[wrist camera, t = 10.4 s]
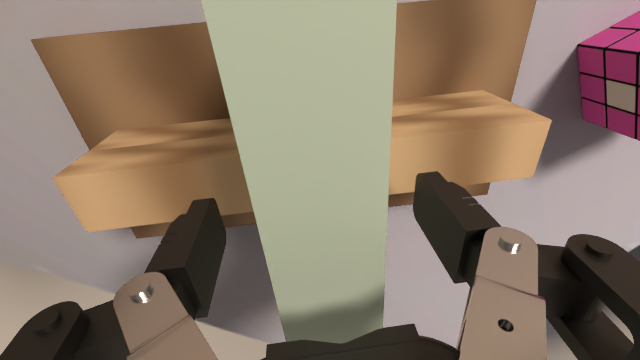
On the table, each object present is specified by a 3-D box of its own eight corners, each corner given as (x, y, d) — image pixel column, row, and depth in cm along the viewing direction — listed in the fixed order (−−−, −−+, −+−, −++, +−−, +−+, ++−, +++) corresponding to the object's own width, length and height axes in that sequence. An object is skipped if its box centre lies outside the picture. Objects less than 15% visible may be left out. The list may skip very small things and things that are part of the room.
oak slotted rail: (142, 229, 22) (93, 305, 17) (44, 37, 15) (-92, 56, 10) (479, 187, 23) (541, 245, 18) (525, -9, 16) (647, -16, 11)
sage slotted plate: (256, -22, 14) (178, -90, 4) (318, -28, 14) (401, -109, 4) (297, 232, 22) (307, 425, 12) (336, 227, 23) (379, 414, 12)
